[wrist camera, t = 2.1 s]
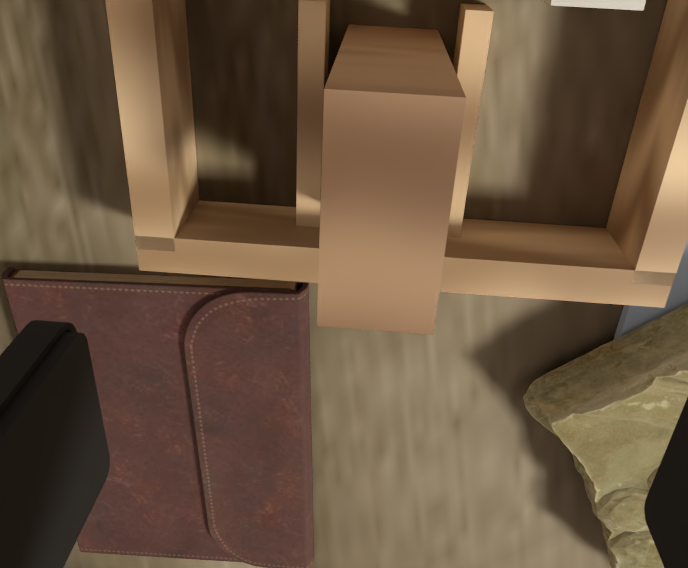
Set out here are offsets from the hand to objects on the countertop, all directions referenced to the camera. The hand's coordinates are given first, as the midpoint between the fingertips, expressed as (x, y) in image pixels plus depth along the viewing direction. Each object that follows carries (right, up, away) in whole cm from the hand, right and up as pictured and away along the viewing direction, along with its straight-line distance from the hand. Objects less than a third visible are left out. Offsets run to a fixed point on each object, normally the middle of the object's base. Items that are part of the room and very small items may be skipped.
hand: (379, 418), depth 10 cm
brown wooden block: (+1, +9, +17) cm, 19 cm away
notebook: (-10, -6, +27) cm, 29 cm away
